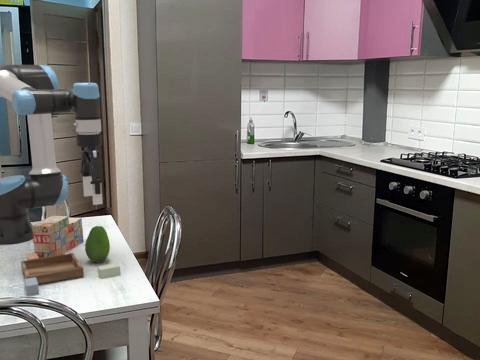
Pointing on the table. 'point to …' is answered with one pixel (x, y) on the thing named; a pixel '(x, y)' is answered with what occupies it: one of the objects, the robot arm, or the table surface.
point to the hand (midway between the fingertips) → (92, 200)
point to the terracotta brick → (32, 256)
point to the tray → (53, 269)
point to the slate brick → (31, 286)
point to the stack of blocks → (56, 235)
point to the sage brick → (109, 271)
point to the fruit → (97, 244)
